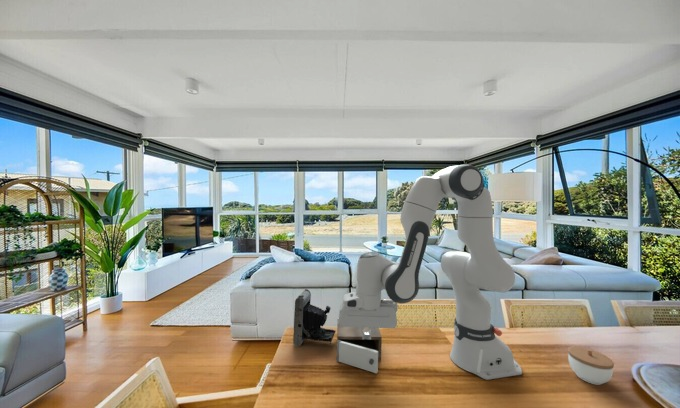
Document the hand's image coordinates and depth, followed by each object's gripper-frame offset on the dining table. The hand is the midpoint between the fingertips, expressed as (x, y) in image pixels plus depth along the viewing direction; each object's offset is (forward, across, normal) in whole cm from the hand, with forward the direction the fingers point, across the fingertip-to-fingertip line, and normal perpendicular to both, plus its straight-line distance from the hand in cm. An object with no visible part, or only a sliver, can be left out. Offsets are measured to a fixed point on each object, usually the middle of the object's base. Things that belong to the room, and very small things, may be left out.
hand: (366, 338), depth 86 cm
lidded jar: (+8, -74, +5) cm, 75 cm away
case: (+10, +2, -10) cm, 14 cm away
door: (+10, +3, +1) cm, 10 cm away
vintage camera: (+10, +19, -14) cm, 26 cm away
